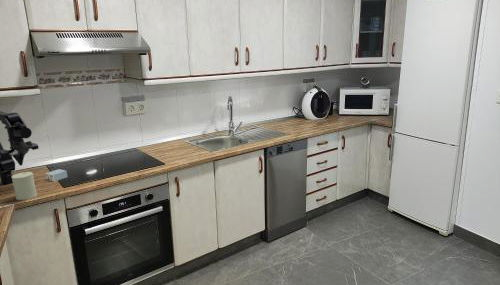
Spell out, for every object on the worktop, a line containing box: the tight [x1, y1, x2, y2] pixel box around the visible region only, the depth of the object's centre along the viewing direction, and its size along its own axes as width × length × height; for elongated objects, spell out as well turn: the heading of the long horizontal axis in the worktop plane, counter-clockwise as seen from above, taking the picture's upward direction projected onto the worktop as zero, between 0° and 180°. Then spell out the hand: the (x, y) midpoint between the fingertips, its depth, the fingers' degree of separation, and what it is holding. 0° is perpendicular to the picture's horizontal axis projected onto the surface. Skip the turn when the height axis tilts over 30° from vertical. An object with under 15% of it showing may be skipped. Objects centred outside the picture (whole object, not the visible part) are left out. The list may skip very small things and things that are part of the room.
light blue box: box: [45, 168, 68, 182], centre depth 207 cm, size 7×4×8 cm
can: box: [12, 171, 38, 201], centre depth 181 cm, size 9×9×12 cm
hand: (21, 165), depth 193 cm, fingers closed
